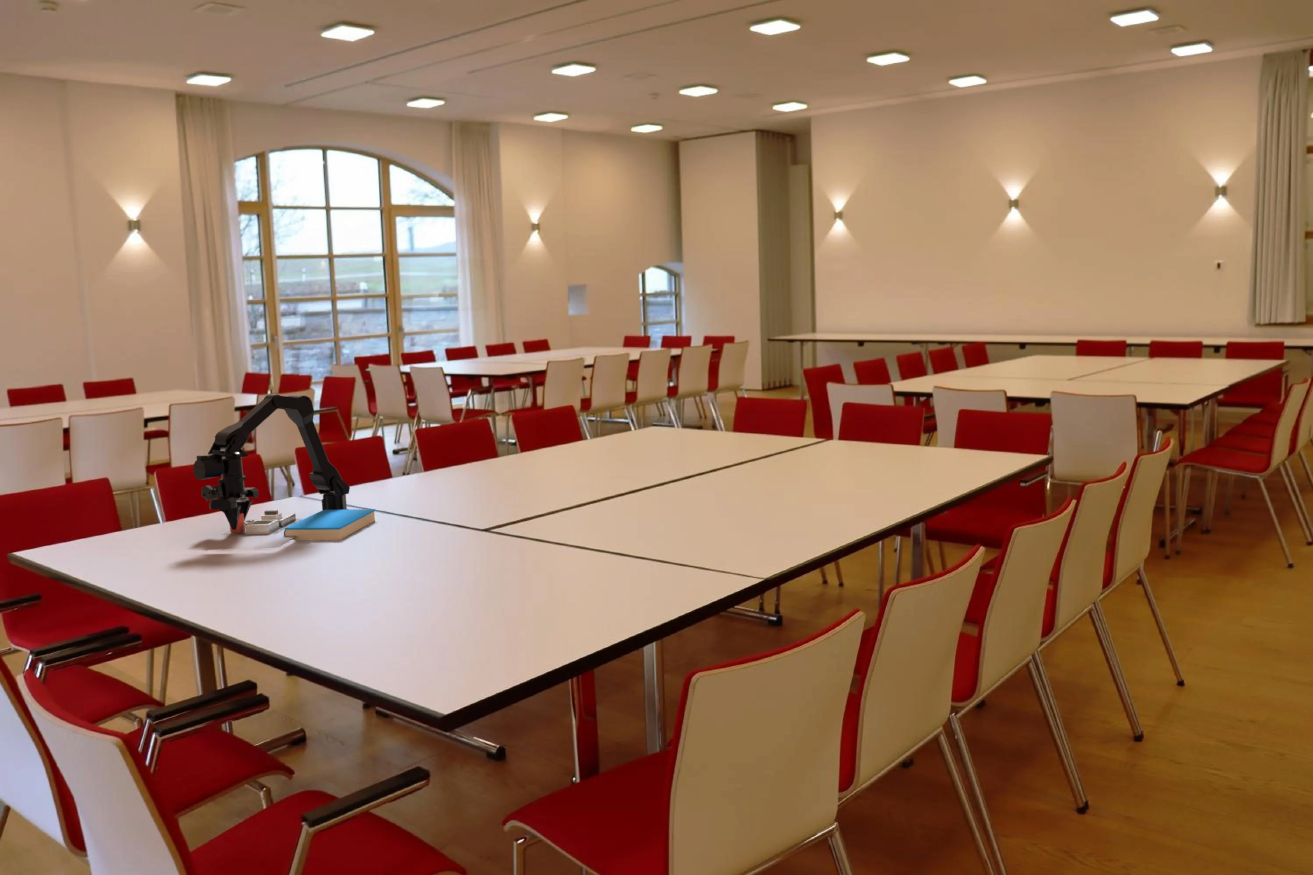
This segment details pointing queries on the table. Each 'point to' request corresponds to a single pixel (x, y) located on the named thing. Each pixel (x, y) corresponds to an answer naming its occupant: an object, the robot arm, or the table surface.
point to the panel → (266, 525)
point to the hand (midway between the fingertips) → (237, 527)
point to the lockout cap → (239, 524)
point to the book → (330, 524)
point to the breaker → (271, 515)
